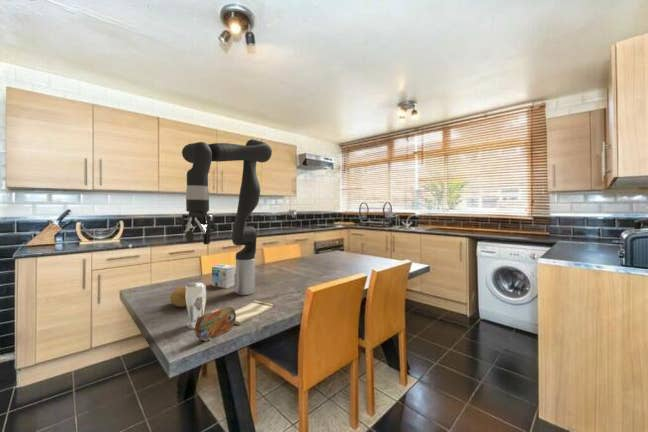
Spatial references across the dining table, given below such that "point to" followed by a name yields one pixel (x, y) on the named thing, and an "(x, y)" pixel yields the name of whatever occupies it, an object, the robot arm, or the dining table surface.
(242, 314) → the board
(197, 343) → the dining table surface
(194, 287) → the beer glass
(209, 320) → the tin
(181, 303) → the potato
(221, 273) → the light bulb box
